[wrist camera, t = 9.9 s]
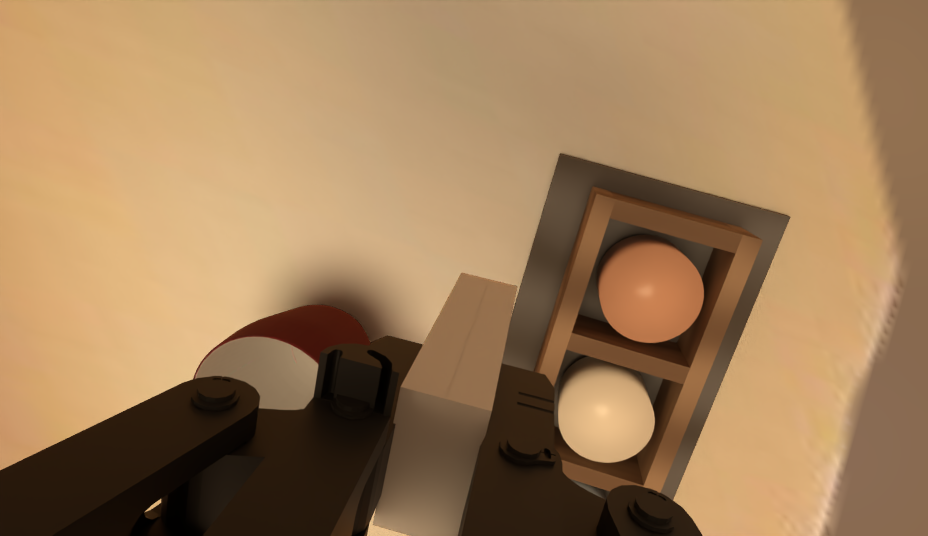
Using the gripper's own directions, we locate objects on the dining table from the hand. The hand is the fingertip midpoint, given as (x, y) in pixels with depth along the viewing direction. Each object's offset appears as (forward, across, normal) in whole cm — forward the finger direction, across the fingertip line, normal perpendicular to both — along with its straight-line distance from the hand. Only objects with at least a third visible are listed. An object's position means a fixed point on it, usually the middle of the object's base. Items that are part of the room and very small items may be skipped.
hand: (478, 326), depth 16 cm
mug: (+20, -8, -11) cm, 25 cm away
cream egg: (+19, +7, -10) cm, 23 cm away
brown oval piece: (+19, +8, -3) cm, 21 cm away
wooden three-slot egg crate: (+20, +8, -10) cm, 24 cm away
